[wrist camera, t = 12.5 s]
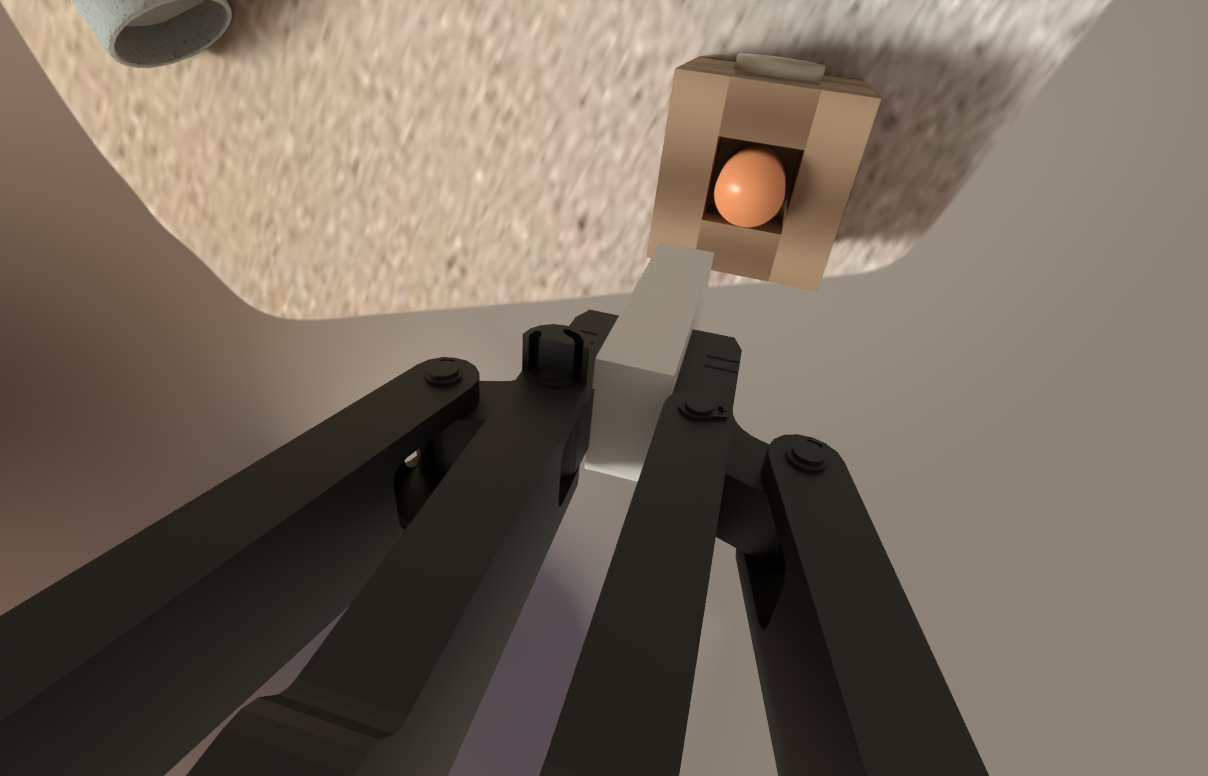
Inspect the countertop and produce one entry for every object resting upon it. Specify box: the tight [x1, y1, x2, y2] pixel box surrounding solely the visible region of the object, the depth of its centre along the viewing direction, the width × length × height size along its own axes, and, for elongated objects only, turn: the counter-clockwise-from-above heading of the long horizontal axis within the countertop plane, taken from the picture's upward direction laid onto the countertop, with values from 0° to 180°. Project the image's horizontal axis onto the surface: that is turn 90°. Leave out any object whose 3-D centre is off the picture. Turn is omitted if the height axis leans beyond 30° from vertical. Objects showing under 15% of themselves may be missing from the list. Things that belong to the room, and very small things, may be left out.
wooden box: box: [647, 53, 881, 291], centre depth 32 cm, size 10×9×8 cm
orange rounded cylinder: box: [714, 144, 786, 227], centre depth 29 cm, size 3×3×3 cm
